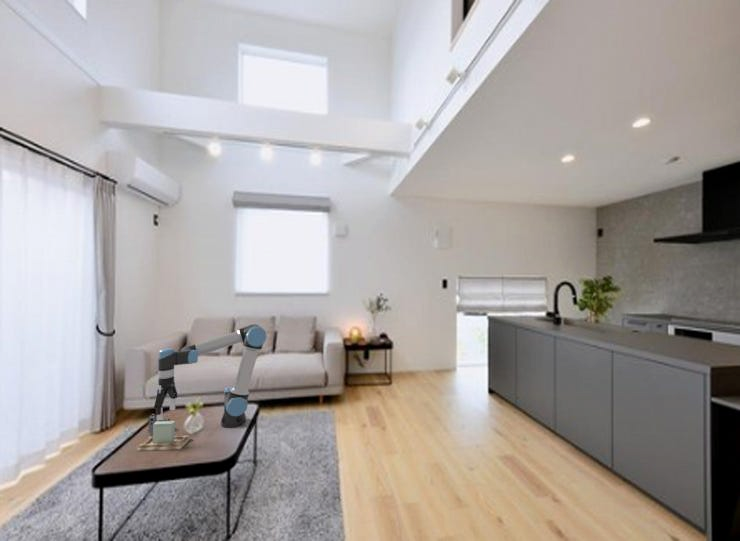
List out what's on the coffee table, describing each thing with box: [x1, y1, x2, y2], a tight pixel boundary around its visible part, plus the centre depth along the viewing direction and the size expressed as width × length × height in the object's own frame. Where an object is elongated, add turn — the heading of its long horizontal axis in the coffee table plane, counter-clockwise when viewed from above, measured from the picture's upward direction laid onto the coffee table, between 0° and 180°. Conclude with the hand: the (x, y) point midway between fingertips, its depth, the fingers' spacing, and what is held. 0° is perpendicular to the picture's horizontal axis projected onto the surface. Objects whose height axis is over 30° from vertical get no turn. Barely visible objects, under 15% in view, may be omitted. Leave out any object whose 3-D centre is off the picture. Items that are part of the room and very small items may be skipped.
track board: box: [136, 435, 191, 452], centre depth 184 cm, size 22×12×2 cm, turn 95°
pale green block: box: [153, 420, 176, 444], centre depth 184 cm, size 10×4×11 cm, turn 95°
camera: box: [148, 413, 171, 437], centre depth 199 cm, size 14×11×10 cm
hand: (166, 415), depth 184 cm, fingers open, 13 cm apart
